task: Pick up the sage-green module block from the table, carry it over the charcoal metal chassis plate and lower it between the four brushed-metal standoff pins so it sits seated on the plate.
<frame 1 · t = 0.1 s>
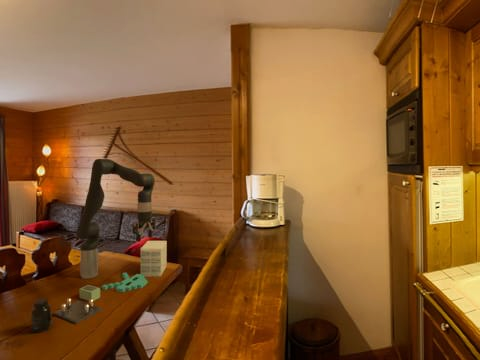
hand: (144, 239, 146), 29 cm above the table, fingers open, 8 cm apart
module: (89, 297, 140), on the table
chassis: (77, 312, 126), on the table
supplement bottle: (41, 328, 113), on the table
alien figure: (128, 284, 157), on the table
supplement box: (154, 271, 176), on the table
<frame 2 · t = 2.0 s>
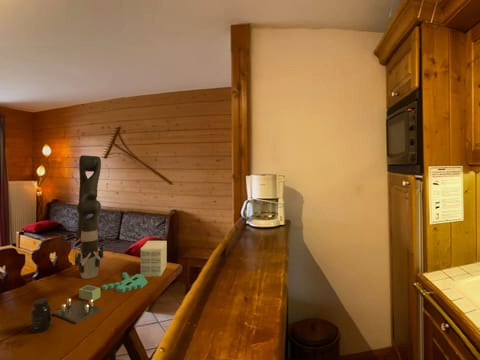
hand: (89, 269, 139), 15 cm above the table, fingers open, 8 cm apart
nothing on the table moved.
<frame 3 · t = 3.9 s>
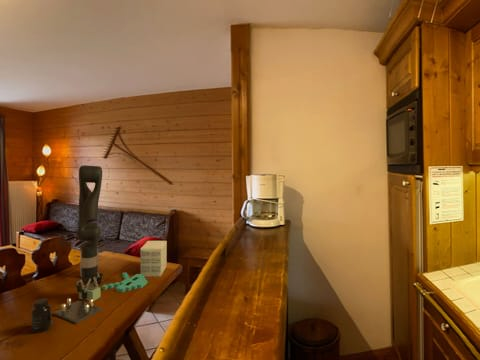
hand: (89, 296, 140), 1 cm above the table, fingers closed on module, 5 cm apart
module: (89, 297, 140), on the table, touching gripper
everything else where it was.
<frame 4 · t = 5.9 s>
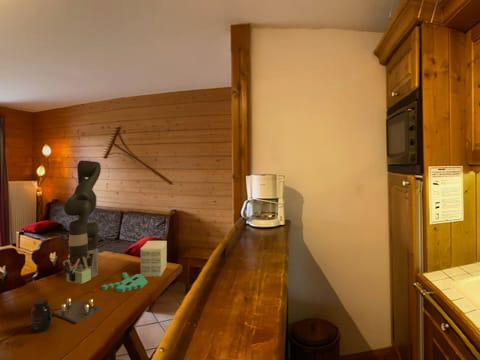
hand: (78, 278, 125), 16 cm above the table, fingers closed on module, 5 cm apart
module: (78, 280, 125), point 15 cm above the table, touching gripper
everything else where it was.
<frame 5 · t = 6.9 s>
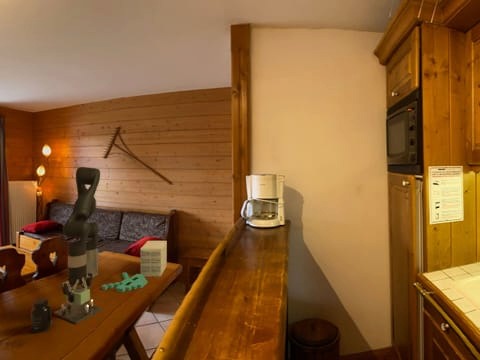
hand: (77, 299, 125), 7 cm above the table, fingers closed on module, 5 cm apart
module: (77, 300, 125), point 6 cm above the table, touching gripper
everything else where it was.
when the fingers open (3 cm above the table, at t = 7.9 s): module stays where it is, resting on chassis.
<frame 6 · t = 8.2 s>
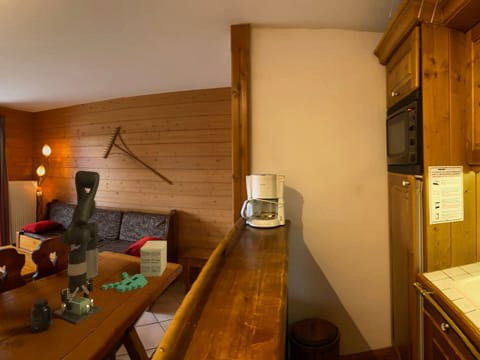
hand: (77, 305, 125), 3 cm above the table, fingers open, 7 cm apart
module: (77, 310, 126), point 1 cm above the table, touching chassis
everything else where it was.
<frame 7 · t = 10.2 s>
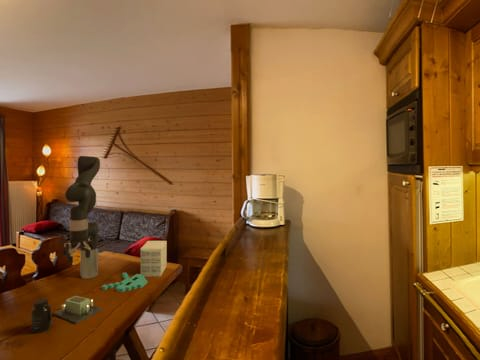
hand: (79, 260, 131), 23 cm above the table, fingers open, 8 cm apart
nothing on the table moved.
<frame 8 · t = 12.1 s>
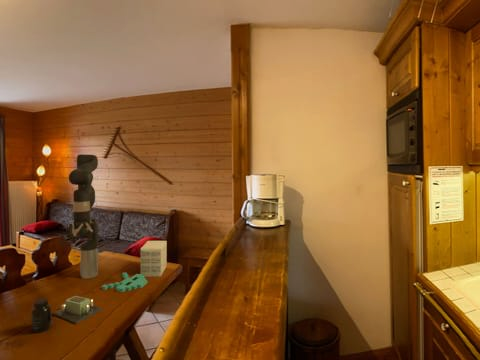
hand: (81, 241, 138), 30 cm above the table, fingers open, 8 cm apart
nothing on the table moved.
at the end: module 0.0 cm off-centre on the chassis, point 1.2 cm above the chassis's base; module tilted 0°; the gripper is holding nothing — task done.
